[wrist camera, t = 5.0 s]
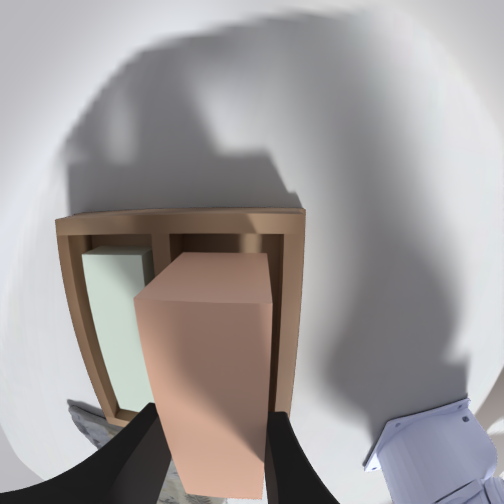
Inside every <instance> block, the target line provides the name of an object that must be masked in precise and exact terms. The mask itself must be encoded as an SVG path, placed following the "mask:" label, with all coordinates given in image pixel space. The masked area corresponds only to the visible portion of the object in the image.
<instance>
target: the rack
mask: <svg viewBox="0 0 504 504" xmlns="http://www.w3.org/2000/svg"><path fill="white" fill-rule="evenodd" d="M305 216H306V210H305V209H304V208H267V207H212V208H165V209H139V210H118V211H100V212H85V213H78V214H74V215H73V216H68V217H64V218H60V219H56V220H55V225H56V235H57V244H58V251H59V259H60V265H61V271H62V277H63V283H64V288H65V293H66V298H67V302H68V307H69V311H70V315H71V319H72V323H73V327H74V330H75V334H76V338H77V341H78V344H79V348H80V351H81V354H82V357H83V360H84V363H85V366H86V369H87V372H88V375H89V378H90V380H91V383H92V386H93V388H94V391H95V393H96V396H97V398H98V401H99V403H100V406H101V408H102V410H103V413H104V415H105V417H106V419H107V422H108V423H109V424H113V425H117V426H121V427H125V426H126V425H127V424H128V423H129V422H130V421H131V420H132V419H133V418H134V417H135V416H136V415H137V414H138V413H139V412H136V411H131V410H126V409H122V408H120V406H119V404H118V401H117V398H116V395H115V393H114V390H113V387H112V384H111V381H110V378H109V375H108V372H107V369H106V365H105V362H104V359H103V355H102V352H101V348H100V344H99V341H98V337H97V333H96V329H95V325H94V320H93V316H92V311H91V307H90V302H89V297H88V291H87V286H86V280H85V274H84V267H83V260H82V254H84V253H86V252H88V251H90V250H93V249H95V248H97V247H99V246H152V250H153V262H154V273H155V278H156V277H157V276H158V275H159V274H160V273H161V272H162V271H163V270H164V269H165V268H166V267H167V266H169V265H170V264H171V263H172V262H173V261H174V260H175V259H176V258H177V257H179V256H180V255H181V254H182V253H183V252H199V253H267V259H268V267H269V276H270V285H271V294H272V303H273V305H272V333H271V358H270V380H269V400H268V412H279V411H285V412H286V413H287V414H288V418H289V417H290V410H291V402H292V393H293V385H294V376H295V367H296V357H297V346H298V335H299V324H300V311H301V297H302V282H303V264H304V244H305Z"/></svg>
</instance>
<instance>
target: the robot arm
mask: <svg viewBox="0 0 504 504" xmlns="http://www.w3.org/2000/svg"><path fill="white" fill-rule="evenodd" d="M470 402H471V400H470V399H469V398H466V399H464V400H461V401H458V402H455V403H452V404H449V405H446V406H443V407H440V408H436V409H433V410H429V411H426V412H422V413H418V414H415V415H411V416H406V417H402V418H398V419H393V420H390V421H389V422H388V423H387V424H386V426H385V428H384V430H383V432H382V434H381V436H380V438H379V441H378V443H377V445H376V447H375V449H374V451H373V452H372V454H371V456H370V458H369V460H368V462H367V464H366V466H365V467H364V471H365V472H370V471H375V470H379V469H382V472H383V474H384V477H385V480H386V483H387V486H388V489H389V492H390V495H391V498H392V501H393V504H504V480H503V479H502V478H501V477H493V476H492V475H493V473H494V471H495V469H496V465H497V451H496V448H495V445H494V443H493V442H492V440H491V439H490V437H489V436H488V434H487V433H486V432H485V430H484V429H483V428H482V426H481V425H480V423H479V422H478V421H477V419H476V418H475V417H474V415H473V414H472V413H471V411H470V410H469V409H468V406H469V404H470ZM171 458H172V454H171V452H170V449H169V446H168V443H167V440H166V437H165V434H164V430H163V427H162V424H161V421H160V417H159V415H158V412H157V408H156V405H155V403H152V402H149V403H148V404H147V405H146V406H145V407H144V408H143V409H142V410H141V411H140V412H139V413H138V414H137V415H136V416H135V417H134V418H133V419H132V420H131V421H130V422H129V423H128V424H127V425H126V426H125V427H124V428H123V429H122V430H121V431H120V432H119V433H118V434H116V435H115V436H114V437H113V438H112V439H111V440H110V441H109V442H107V443H106V444H105V445H104V446H103V447H101V448H100V449H99V450H98V451H96V452H95V453H94V454H92V455H91V456H90V457H88V458H87V459H85V460H84V461H83V462H81V463H79V464H78V465H76V466H75V467H73V468H71V469H69V470H68V471H66V472H64V473H62V474H60V475H58V476H56V477H54V478H52V479H49V480H47V481H44V482H42V483H39V484H36V485H33V486H30V487H27V488H24V489H19V490H15V491H10V492H4V493H0V504H157V501H158V498H159V495H160V492H161V489H162V486H163V483H164V480H165V477H166V474H167V471H168V468H169V465H170V462H171ZM264 471H265V481H266V490H267V499H268V504H340V503H339V502H338V501H337V500H336V499H335V497H334V496H333V495H332V494H331V493H330V491H329V490H328V489H327V488H326V486H325V485H324V484H323V482H322V481H321V479H320V478H319V476H318V475H317V473H316V472H315V470H314V469H313V467H312V466H311V464H310V462H309V461H308V459H307V457H306V455H305V454H304V452H303V450H302V448H301V446H300V444H299V442H298V440H297V438H296V436H295V434H294V431H293V429H292V426H291V424H290V421H289V418H288V414H287V413H286V412H285V411H279V412H268V418H267V428H266V445H265V460H264Z"/></svg>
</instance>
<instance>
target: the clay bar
mask: <svg viewBox="0 0 504 504" xmlns="http://www.w3.org/2000/svg"><path fill="white" fill-rule="evenodd" d="M133 301H134V307H135V314H136V320H137V325H138V331H139V336H140V341H141V347H142V351H143V356H144V361H145V365H146V370H147V374H148V378H149V382H150V386H151V390H152V394H153V398H154V401H155V405H156V408H157V412H158V415H159V417H160V421H161V424H162V427H163V430H164V434H165V437H166V440H167V443H168V446H169V449H170V452H171V454H172V458H173V461H174V464H175V466H176V469H177V472H178V474H179V477H180V479H181V482H182V484H183V487H184V489H185V491H186V493H187V494H194V495H201V496H210V497H221V498H236V499H262V492H263V479H264V460H265V445H266V428H267V418H268V400H269V380H270V358H271V333H272V305H273V303H272V294H271V285H270V276H269V267H268V259H267V253H199V252H183V253H182V254H181V255H180V256H179V257H177V258H176V259H175V260H174V261H173V262H172V263H171V264H170V265H169V266H167V267H166V268H165V269H164V270H163V271H162V272H161V273H160V274H159V275H158V276H157V277H156V278H154V279H153V280H152V281H151V282H150V283H149V284H148V285H147V286H146V287H145V288H144V289H143V290H142V291H140V292H139V293H138V294H137V295H136V296H135V297H134V298H133Z"/></svg>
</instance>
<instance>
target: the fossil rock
mask: <svg viewBox="0 0 504 504" xmlns="http://www.w3.org/2000/svg"><path fill="white" fill-rule="evenodd" d="M69 412H70V414H71V415H72V420H73V422H74V423H75V425H76V426H77V427H78V429H79V430H80V431H81V432H82V433H83V434H84V435H85V436H86V438H88V439H89V440H90V441H91V443H92V444H93V445H95V446H96V447H97V449H98V450H99V449H100V448H101V447H103V446H104V445H105V444H106V443H107V442H109V441H110V440H111V439H112V438H113V437H114V436H115V435H116V434H118V433H119V432H120V431H121V430H122V429H123V428H124V427H121V426H117V425H113V424H109V423H108V422H107V419H104V418H102V417H99V416H96V415H93V414H91V413H88V412H86V411H84V410H82V409H80V408H78V407H77V406H71V407H69ZM157 504H227V498H221V497H210V496H201V495H194V494H187V493H186V491H185V489H184V487H183V484H182V482H181V479H180V477H179V474H178V472H177V469H176V466H175V464H174V461H173V458H171V462H170V465H169V468H168V471H167V474H166V477H165V480H164V483H163V486H162V489H161V492H160V495H159V498H158V501H157Z"/></svg>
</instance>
